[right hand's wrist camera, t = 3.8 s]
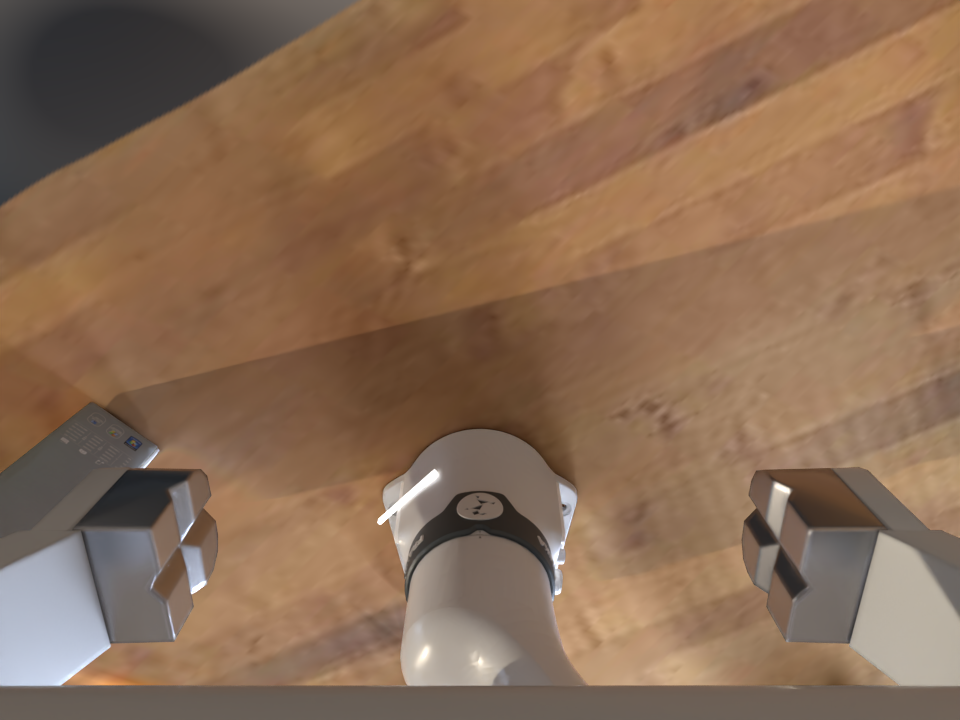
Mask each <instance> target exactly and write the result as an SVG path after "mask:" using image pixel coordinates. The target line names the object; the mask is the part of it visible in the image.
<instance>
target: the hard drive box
mask: <svg viewBox="0 0 960 720" xmlns="http://www.w3.org/2000/svg"><path fill="white" fill-rule="evenodd" d="M158 451H159V449H157V446H156V445H155V444H153V443H152V442H150V441H149V440H148V439H146V438H145V437H143V436H142V435H140V434H139V433H137V432H136V431H134V430H133V429H131V428H130V427H129V426H127V425H126V424H124V423H123V422H121V421H120V420H118V419H117V418H115V417H114V416H112V415H111V414H110V413H108V412H107V411H105V410H104V409H102V408H101V407H99V406H98V405H96V404H95V403H93V402H91V403H89V404H88V405H87V406H85V407H84V408H83V409H81V410H80V411H79V412H78V413H76V414H75V415H74V416H72V417H71V418H70V419H69V420H67V421H66V422H65V423H63V424H62V425H61V426H60V427H58V428H57V429H56V430H55V431H53V432H52V433H51V434H49V435H48V436H47V437H46V438H44V439H43V440H42V441H41V442H39V443H38V444H37V445H36V446H34V447H33V448H32V449H31V450H29V451H28V452H27V453H26V454H24V455H23V456H22V457H21V458H19V459H18V460H17V461H16V462H14V463H13V464H12V465H11V466H9V467H8V468H7V469H5V470H4V471H3V472H2V473H0V538H2V537H5V536H7V535H9V534H11V533H14V532H16V531H18V530H31V529H32V528H33V527H34V526H35V525H36V524H37V523H38V522H39V521H40V520H41V519H42V518H43V517H44V516H46V515H47V514H48V513H49V512H50V511H51V510H52V509H53V508H54V507H55V506H56V505H57V504H58V503H59V502H60V501H61V500H62V499H63V498H64V497H65V496H66V495H67V494H68V493H69V492H70V491H71V490H72V489H73V488H75V487H76V486H77V485H78V484H79V483H80V482H81V481H82V480H83V479H84V478H85V477H86V476H87V475H88V474H89V473H90V472H91V471H92V470H93V469H99V468H124V467H131V468H133V469H134V468H145V467H146V466H147V465H148V464H149V463H150V461H151V460H152V459H153V458H154V457H155V455H156V454H157V453H158Z"/></svg>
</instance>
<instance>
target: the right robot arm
mask: <svg viewBox="0 0 960 720" xmlns="http://www.w3.org/2000/svg"><path fill="white" fill-rule="evenodd" d="M210 497H211V491H210V487H209V482H208V477H207V475H206V474H205V473H204V472H203V471H202V470H201V469H165V468H134V469H133V468H131V467H124V468H99V469H93V470H92V471H91V472H90V473H89V474H88V475H87V476H86V477H85V478H84V479H83V480H82V481H81V482H80V483H79V484H78V485H77V486H76V487H75V488H73V489H72V490H71V491H70V492H69V493H68V494H67V495H66V496H65V497H64V498H63V499H62V500H61V501H60V502H59V503H58V504H57V505H56V506H55V507H54V508H53V509H52V510H51V511H50V512H49V513H48V514H47V515H46V516H44V517H43V518H42V519H41V520H40V521H39V522H38V523H37V524H36V525H35V526H34V527H33V528H32V529H31V530H18V531H16V532H14V533H11V534H9V535H7V536H5V537H2V538H0V720H960V538H958V537H955V536H953V535H951V534H949V533H946V532H944V531H942V530H929V529H928V528H927V527H926V526H925V525H924V524H923V523H922V522H921V521H920V520H919V519H918V518H917V517H916V516H915V515H914V514H913V513H911V512H910V511H909V510H908V509H907V508H906V507H905V506H904V505H903V504H902V503H901V502H900V501H899V500H898V499H897V498H896V497H895V496H894V495H893V494H892V493H891V492H890V491H889V490H888V489H887V488H886V487H885V486H884V485H883V484H882V483H880V482H879V481H878V480H877V479H876V478H875V477H874V476H873V475H872V474H871V473H870V472H869V471H868V470H865V469H863V468H860V467H850V468H818V469H778V470H757V471H756V472H755V474H754V476H753V478H752V480H751V485H750V491H749V497H750V498H751V500H752V501H753V503H754V504H755V506H756V507H757V508H756V509H755V510H754V511H753V512H752V513H751V515H750V516H749V517H748V518H747V519H746V520H745V521H744V527H743V534H742V550H743V559H744V563H745V566H746V569H747V572H748V574H749V576H750V578H751V580H752V582H753V584H754V585H755V586H757V587H759V588H760V589H762V590H763V591H765V592H766V593H768V600H767V605H766V607H767V609H768V611H769V612H770V614H771V616H772V618H773V619H774V621H775V623H776V625H777V627H778V628H779V630H780V632H781V634H782V635H783V637H784V639H785V641H786V642H815V643H850V644H849V647H851V648H852V649H853V650H855V651H856V652H857V653H858V654H860V655H861V656H862V657H864V658H865V659H866V660H867V661H869V662H870V663H871V664H873V665H874V666H875V667H877V668H878V669H879V670H880V671H882V672H883V673H884V674H886V675H887V676H888V677H889V678H891V679H892V680H893V681H895V682H896V683H897V684H899V685H900V686H589V685H588V684H587V683H586V682H585V681H584V679H583V678H582V677H581V676H580V674H579V673H578V672H577V671H576V669H575V668H574V666H573V665H572V663H571V662H570V660H569V658H568V656H567V655H566V653H565V650H564V648H563V645H562V641H561V638H560V634H559V630H558V626H557V622H556V618H555V613H554V607H553V601H554V595H555V594H556V595H557V594H560V592H561V588H562V579H563V577H562V571H561V570H560V569H557V567H558V564H564V562H565V555H566V553H565V549H563V547H564V543H565V540H566V537H567V533H568V530H569V526H570V523H571V520H572V516H573V513H574V509H575V506H576V503H577V490H576V488H575V486H574V485H573V484H571V483H570V482H569V481H567V480H566V479H564V478H562V477H560V476H559V475H557V474H555V473H554V472H553V471H552V470H551V469H550V468H549V466H548V465H547V464H546V462H545V461H544V459H543V458H542V457H541V456H540V454H539V453H538V452H537V451H536V450H535V449H534V448H533V447H531V446H530V445H529V444H527V443H526V442H524V441H523V440H521V439H519V438H517V437H515V436H513V435H510V434H508V433H504V432H501V431H496V430H490V429H471V430H464V431H459V432H456V433H452V434H450V435H447V436H445V437H443V438H441V439H439V440H437V441H436V442H434V443H433V444H431V445H430V446H429V447H428V448H426V449H425V450H424V451H423V452H422V453H421V454H420V456H419V457H418V458H417V459H416V461H415V462H414V464H413V465H412V466H411V468H410V469H409V470H408V471H407V472H406V473H405V474H403V475H401V476H400V477H398V478H396V479H394V480H393V481H391V482H390V483H389V484H387V485H386V486H385V488H384V490H383V502H384V506H385V509H386V513H385V514H384V515H382V516H381V517H380V518H379V520H378V523H379V524H380V525H381V524H382V523H383V522H384V521H385V520H386V519H387V518H388V519H389V523H390V526H391V530H392V533H393V536H394V540H395V543H396V547H397V550H398V553H399V557H400V560H401V564H402V567H403V570H404V574H405V576H404V579H405V595H406V601H407V610H406V617H405V624H404V631H403V639H402V646H401V654H400V656H401V667H402V672H403V676H404V679H405V682H406V684H407V686H60V685H62V684H63V683H64V682H66V681H67V680H68V679H69V678H71V677H72V676H73V675H75V674H76V673H77V672H79V671H80V670H81V669H82V668H84V667H85V666H86V665H88V664H89V663H90V662H91V661H93V660H94V659H95V658H97V657H98V656H99V655H101V654H102V653H103V652H104V651H106V650H107V649H108V648H110V647H111V645H110V643H144V642H174V641H175V639H176V637H177V636H178V634H179V632H180V630H181V628H182V627H183V625H184V623H185V621H186V620H187V618H188V616H189V614H190V612H191V611H192V609H193V607H194V605H193V600H192V593H194V592H195V591H197V590H198V589H200V588H201V587H203V586H205V585H206V584H207V582H208V580H209V578H210V576H211V574H212V572H213V570H214V566H215V561H216V557H217V553H218V532H217V526H216V521H215V520H214V519H213V518H212V517H211V516H210V515H209V513H208V512H207V511H206V510H205V509H204V508H203V507H204V506H205V504H206V503H207V501H208V500H209V498H210ZM562 504H565V506H564V507H562Z"/></svg>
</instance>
